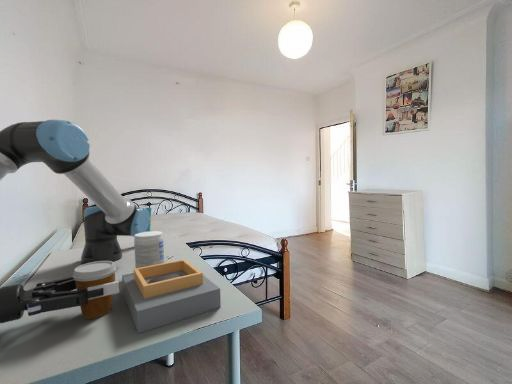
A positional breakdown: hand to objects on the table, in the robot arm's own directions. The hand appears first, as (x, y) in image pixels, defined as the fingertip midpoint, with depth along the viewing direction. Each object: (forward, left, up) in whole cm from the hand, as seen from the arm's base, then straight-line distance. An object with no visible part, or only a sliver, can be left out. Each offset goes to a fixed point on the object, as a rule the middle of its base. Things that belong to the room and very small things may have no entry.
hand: (116, 281), depth 69 cm
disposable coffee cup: (0, -5, -7) cm, 9 cm away
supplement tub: (-20, +12, -7) cm, 25 cm away
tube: (-66, +19, -7) cm, 69 cm away
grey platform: (+1, +12, -7) cm, 14 cm away
